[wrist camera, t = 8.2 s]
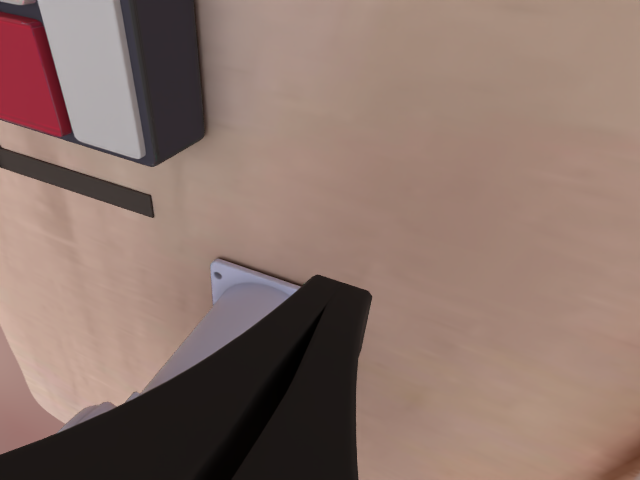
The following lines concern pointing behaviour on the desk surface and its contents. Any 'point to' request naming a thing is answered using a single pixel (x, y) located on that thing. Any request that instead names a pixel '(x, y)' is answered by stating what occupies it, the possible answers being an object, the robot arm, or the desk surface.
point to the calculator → (104, 74)
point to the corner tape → (77, 182)
